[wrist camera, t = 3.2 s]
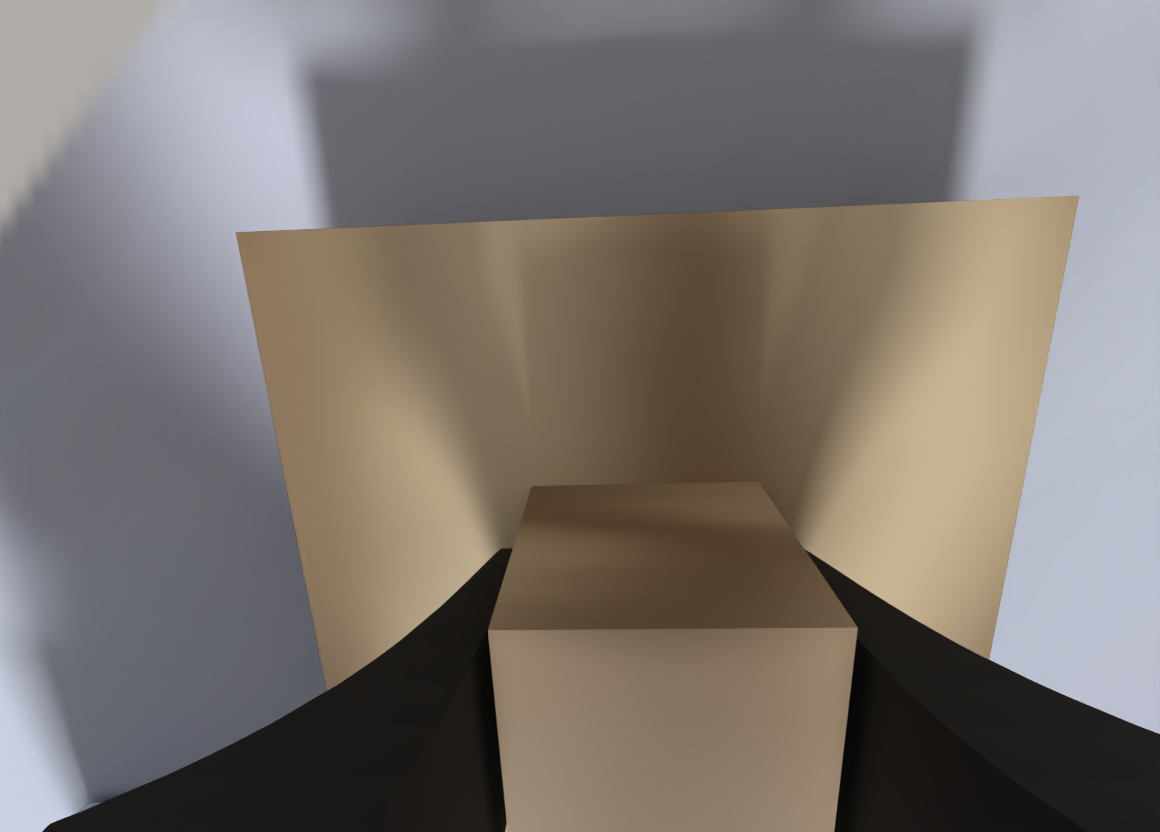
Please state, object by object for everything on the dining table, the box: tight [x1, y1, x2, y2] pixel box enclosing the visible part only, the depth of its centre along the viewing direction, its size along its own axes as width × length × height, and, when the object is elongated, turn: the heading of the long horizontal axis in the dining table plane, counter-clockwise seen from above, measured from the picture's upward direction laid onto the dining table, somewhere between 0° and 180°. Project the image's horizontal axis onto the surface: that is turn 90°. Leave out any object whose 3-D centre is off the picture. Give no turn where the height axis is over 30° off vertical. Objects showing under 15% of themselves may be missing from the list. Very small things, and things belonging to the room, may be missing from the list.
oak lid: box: [236, 196, 1079, 832], centre depth 9 cm, size 13×13×5 cm
